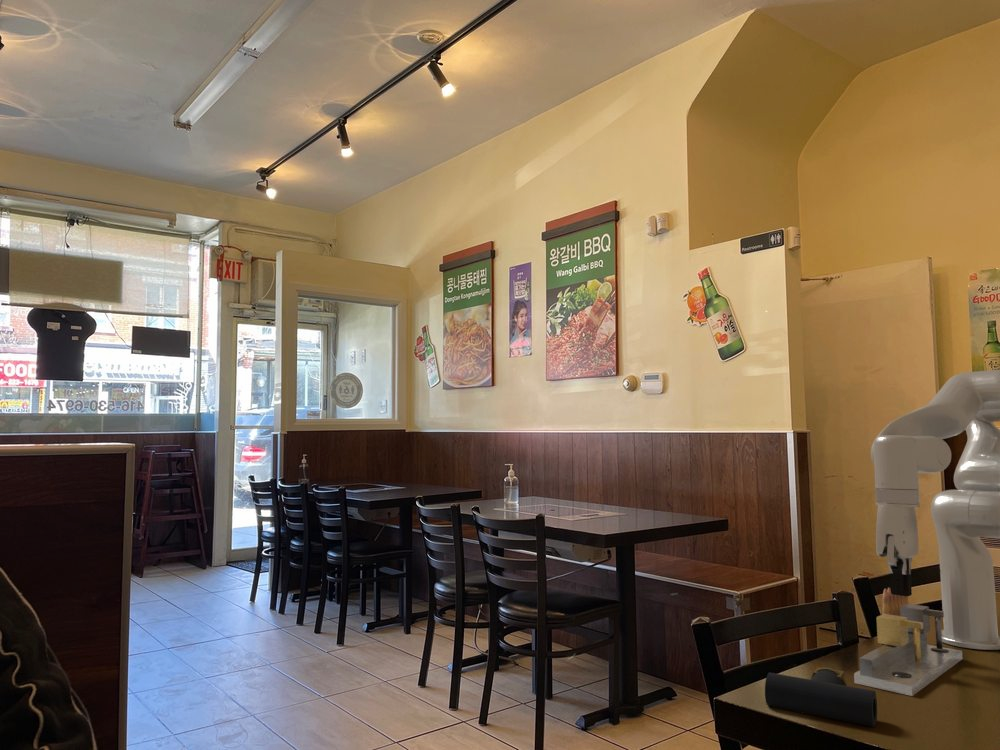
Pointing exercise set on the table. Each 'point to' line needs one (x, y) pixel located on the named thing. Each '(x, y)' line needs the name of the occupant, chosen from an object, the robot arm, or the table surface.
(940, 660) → the bolt plate
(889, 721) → the table surface
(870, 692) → the pipe connector
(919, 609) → the fixed leg
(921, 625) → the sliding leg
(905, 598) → the ammunition clip
